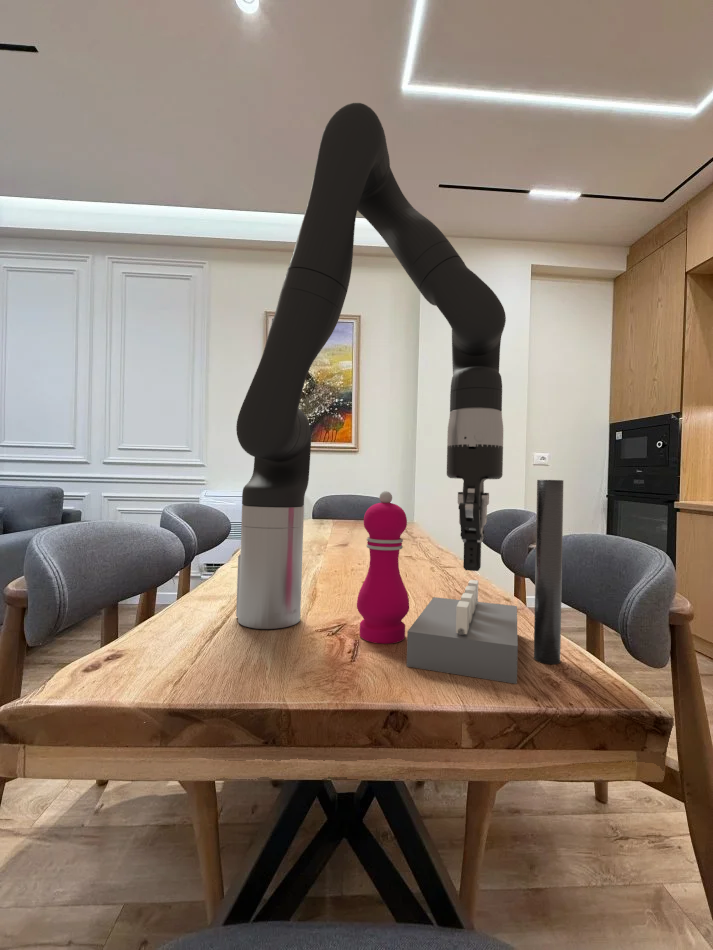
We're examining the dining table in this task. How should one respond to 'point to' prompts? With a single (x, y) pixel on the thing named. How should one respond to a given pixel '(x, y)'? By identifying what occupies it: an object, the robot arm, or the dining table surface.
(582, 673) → the dining table surface
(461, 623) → the breaker paddles
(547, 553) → the black cord post
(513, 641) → the breaker panel
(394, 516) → the pepper mill
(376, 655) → the dining table surface
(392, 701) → the dining table surface
